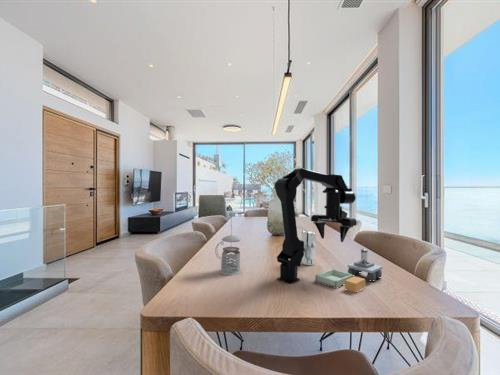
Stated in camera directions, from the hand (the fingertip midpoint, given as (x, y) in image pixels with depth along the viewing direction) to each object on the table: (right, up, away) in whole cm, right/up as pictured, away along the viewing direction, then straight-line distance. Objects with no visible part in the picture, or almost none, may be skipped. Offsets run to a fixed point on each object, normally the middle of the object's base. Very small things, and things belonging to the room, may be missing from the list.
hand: (332, 240), depth 115 cm
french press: (-44, -13, -1) cm, 46 cm away
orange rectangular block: (+3, -14, -19) cm, 23 cm away
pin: (+11, -9, -5) cm, 16 cm away
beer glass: (-8, -14, +12) cm, 20 cm away
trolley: (+11, -14, -6) cm, 19 cm away
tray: (-3, -14, -11) cm, 18 cm away
